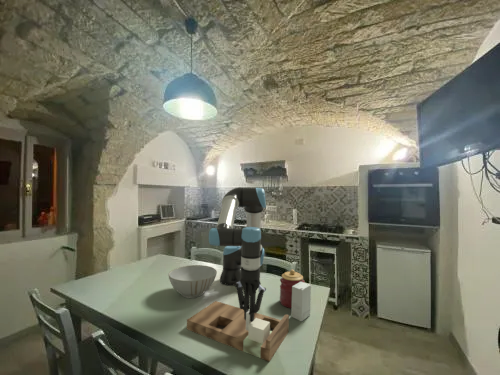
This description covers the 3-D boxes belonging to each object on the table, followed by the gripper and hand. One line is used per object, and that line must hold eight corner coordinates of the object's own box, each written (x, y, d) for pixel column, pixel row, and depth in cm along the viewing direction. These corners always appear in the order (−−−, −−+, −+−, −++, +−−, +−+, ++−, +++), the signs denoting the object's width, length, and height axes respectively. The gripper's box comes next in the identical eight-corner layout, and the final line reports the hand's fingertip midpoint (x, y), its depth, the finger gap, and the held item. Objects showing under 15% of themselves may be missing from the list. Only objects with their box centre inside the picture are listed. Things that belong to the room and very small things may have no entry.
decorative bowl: (205, 307, 118) (206, 283, 118) (157, 301, 123) (158, 278, 124) (222, 286, 144) (222, 266, 144) (182, 282, 150) (182, 263, 150)
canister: (285, 310, 116) (286, 274, 117) (276, 298, 129) (276, 266, 129) (309, 307, 120) (309, 272, 120) (297, 296, 132) (297, 265, 133)
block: (248, 338, 87) (248, 325, 87) (255, 330, 92) (256, 317, 92) (262, 344, 84) (263, 330, 84) (269, 335, 89) (270, 322, 89)
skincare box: (300, 311, 116) (300, 280, 116) (311, 315, 112) (311, 284, 112) (290, 317, 110) (291, 285, 110) (301, 322, 106) (302, 289, 106)
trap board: (186, 329, 99) (187, 312, 99) (215, 309, 116) (215, 294, 116) (269, 361, 81) (269, 341, 81) (288, 331, 98) (288, 315, 98)
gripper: (231, 267, 91) (229, 328, 90) (261, 273, 85) (259, 339, 84) (241, 262, 98) (239, 319, 97) (269, 267, 92) (268, 328, 91)
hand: (249, 328), depth 91 cm, fingers closed
